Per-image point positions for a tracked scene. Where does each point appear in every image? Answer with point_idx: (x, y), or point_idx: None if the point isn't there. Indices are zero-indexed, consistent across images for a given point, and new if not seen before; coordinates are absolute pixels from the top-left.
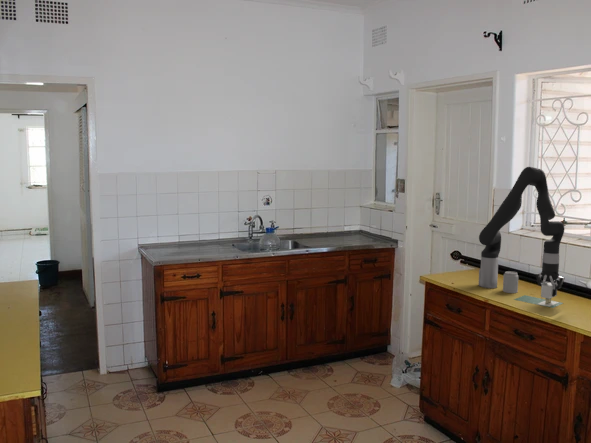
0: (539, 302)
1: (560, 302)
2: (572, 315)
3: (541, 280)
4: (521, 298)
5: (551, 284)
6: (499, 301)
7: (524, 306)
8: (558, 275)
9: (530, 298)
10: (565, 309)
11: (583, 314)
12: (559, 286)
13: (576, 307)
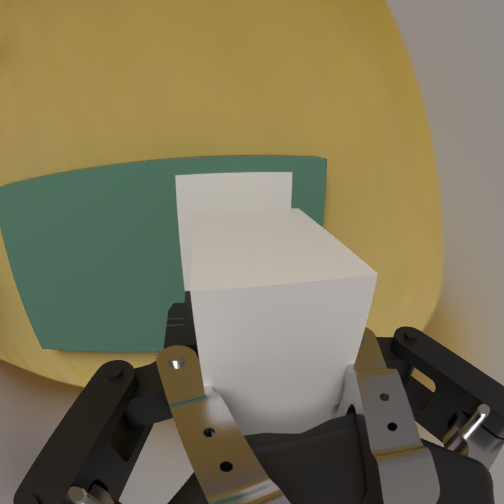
0: (175, 296)
1: (301, 160)
2: (399, 312)
3: (110, 422)
4: (38, 293)
5: (303, 380)
6: (17, 362)
7: (136, 364)
8: (478, 485)
9: (64, 243)
10: (353, 236)
11: (436, 254)
12: (414, 390)
13: (390, 131)
